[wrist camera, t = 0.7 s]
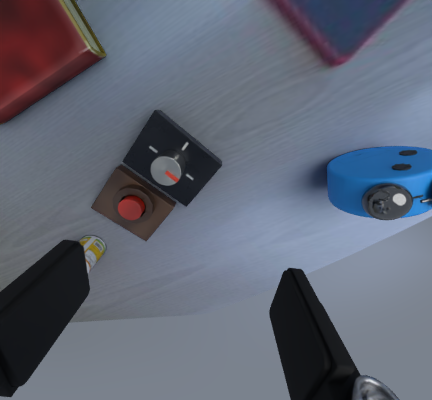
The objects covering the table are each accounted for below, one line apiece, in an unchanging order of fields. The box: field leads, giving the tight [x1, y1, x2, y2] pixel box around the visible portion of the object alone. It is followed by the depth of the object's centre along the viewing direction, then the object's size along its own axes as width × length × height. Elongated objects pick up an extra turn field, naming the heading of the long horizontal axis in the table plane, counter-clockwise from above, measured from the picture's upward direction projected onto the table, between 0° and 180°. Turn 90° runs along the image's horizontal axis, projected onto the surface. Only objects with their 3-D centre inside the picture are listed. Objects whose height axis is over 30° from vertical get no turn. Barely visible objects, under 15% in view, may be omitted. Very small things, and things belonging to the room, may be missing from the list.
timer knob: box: [151, 150, 186, 186], centre depth 31 cm, size 4×4×5 cm
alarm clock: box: [327, 146, 432, 220], centre depth 29 cm, size 13×6×15 cm, turn 106°
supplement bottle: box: [79, 236, 106, 273], centre depth 39 cm, size 5×5×10 cm
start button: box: [118, 195, 145, 220], centre depth 35 cm, size 4×4×2 cm
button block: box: [91, 165, 176, 241], centre depth 37 cm, size 12×10×4 cm
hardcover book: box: [0, 0, 106, 124], centre depth 27 cm, size 12×21×4 cm, turn 116°
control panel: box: [123, 110, 222, 207], centre depth 34 cm, size 13×10×3 cm
